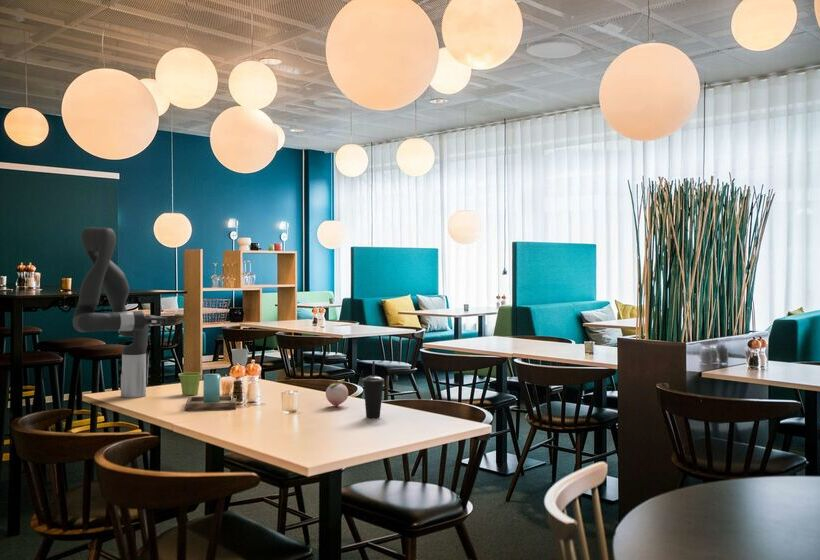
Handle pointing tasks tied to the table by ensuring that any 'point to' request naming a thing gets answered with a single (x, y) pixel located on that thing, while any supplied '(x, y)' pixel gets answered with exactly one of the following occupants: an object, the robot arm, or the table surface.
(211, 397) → the teal tumbler
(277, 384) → the table surface
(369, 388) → the drinking cup
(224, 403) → the walnut tray
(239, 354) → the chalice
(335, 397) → the decorative fruit
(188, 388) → the plant pot
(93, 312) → the robot arm
